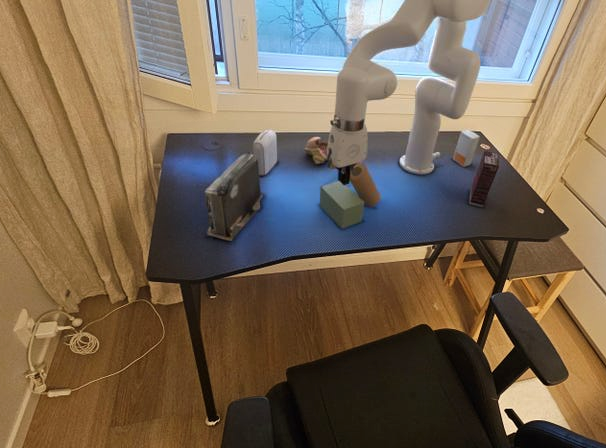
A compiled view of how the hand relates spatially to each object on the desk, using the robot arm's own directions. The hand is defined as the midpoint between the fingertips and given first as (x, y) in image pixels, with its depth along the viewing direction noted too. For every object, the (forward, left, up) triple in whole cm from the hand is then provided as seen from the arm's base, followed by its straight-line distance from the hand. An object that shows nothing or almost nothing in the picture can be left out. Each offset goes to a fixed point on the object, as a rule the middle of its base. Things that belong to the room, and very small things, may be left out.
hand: (343, 182), depth 109 cm
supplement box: (-45, +15, -11) cm, 48 cm away
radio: (+26, -13, -11) cm, 31 cm away
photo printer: (+8, -31, -11) cm, 34 cm away
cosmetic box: (-58, -4, -11) cm, 59 cm away
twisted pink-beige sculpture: (-10, -29, -11) cm, 33 cm away
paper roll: (-7, 0, -11) cm, 13 cm away
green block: (0, 0, -11) cm, 11 cm away
